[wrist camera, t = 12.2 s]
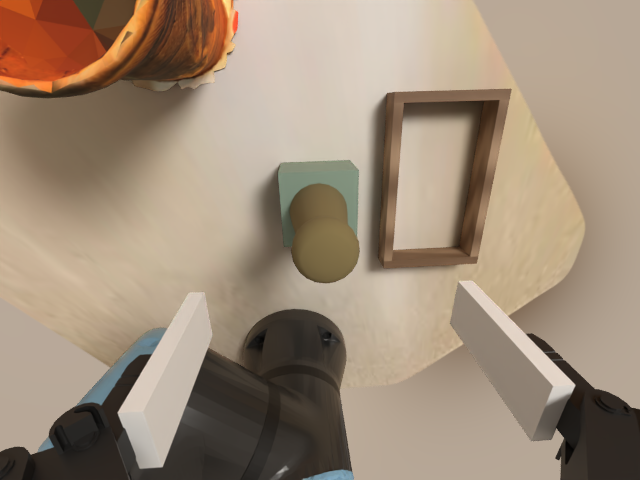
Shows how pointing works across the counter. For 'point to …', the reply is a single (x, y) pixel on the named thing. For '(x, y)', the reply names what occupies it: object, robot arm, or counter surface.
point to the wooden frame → (479, 182)
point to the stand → (308, 173)
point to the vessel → (111, 44)
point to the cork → (322, 234)
